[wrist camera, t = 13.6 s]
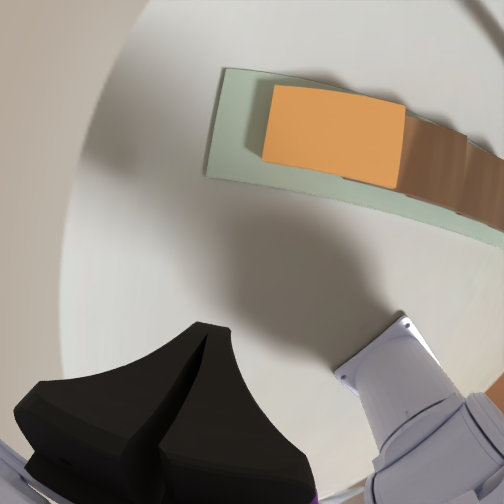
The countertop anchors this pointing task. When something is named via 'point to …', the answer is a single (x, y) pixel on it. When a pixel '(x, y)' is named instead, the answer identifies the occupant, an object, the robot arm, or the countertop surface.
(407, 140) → the domino
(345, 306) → the countertop surface
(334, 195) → the mat
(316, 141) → the orange domino
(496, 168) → the domino
